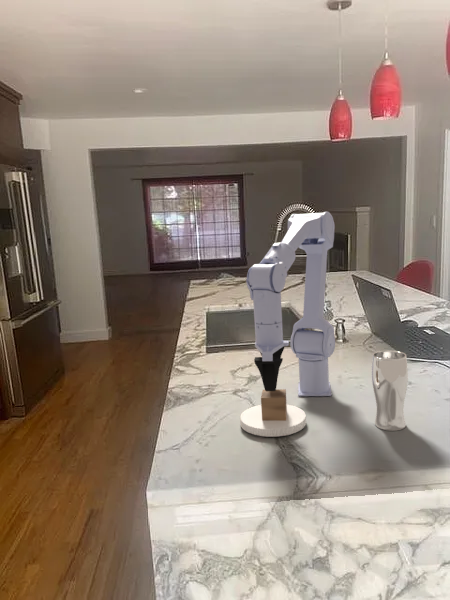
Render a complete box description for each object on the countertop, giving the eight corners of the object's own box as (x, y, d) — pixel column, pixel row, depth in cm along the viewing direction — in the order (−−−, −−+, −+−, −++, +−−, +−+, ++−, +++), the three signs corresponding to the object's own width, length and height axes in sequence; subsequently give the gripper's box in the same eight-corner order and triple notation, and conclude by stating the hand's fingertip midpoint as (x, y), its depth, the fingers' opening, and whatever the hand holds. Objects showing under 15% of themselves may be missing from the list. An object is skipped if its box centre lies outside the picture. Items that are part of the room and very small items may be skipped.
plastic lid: (227, 427, 108) (226, 416, 107) (273, 409, 116) (272, 398, 116) (273, 448, 97) (273, 435, 97) (320, 425, 106) (319, 414, 105)
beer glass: (400, 416, 106) (399, 348, 104) (413, 430, 99) (413, 358, 97) (368, 419, 106) (366, 351, 104) (379, 433, 99) (378, 360, 97)
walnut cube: (263, 411, 109) (262, 389, 108) (286, 411, 108) (285, 389, 107) (262, 420, 104) (260, 398, 103) (286, 420, 103) (285, 397, 103)
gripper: (286, 329, 95) (289, 396, 97) (288, 313, 109) (291, 372, 112) (249, 330, 96) (254, 396, 99) (256, 314, 110) (260, 373, 113)
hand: (271, 384), depth 105 cm, fingers open, 7 cm apart
